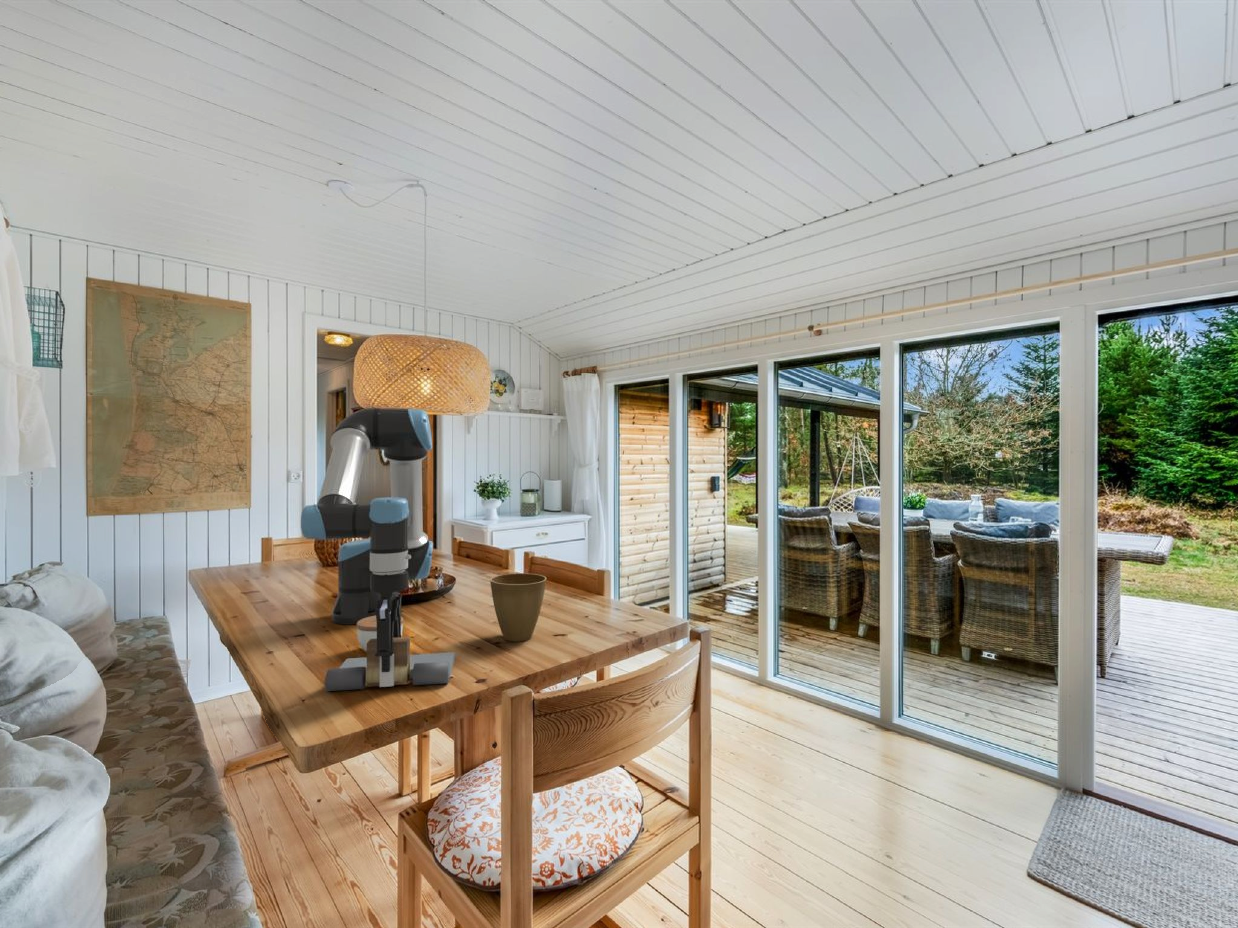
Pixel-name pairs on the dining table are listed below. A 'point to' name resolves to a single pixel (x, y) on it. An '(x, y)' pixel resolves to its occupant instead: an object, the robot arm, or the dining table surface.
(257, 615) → the dining table surface
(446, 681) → the grey hinge leaf
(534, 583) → the plant pot
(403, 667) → the taupe rectangular chunk
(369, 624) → the lidded jar
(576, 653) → the dining table surface
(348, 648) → the dining table surface
